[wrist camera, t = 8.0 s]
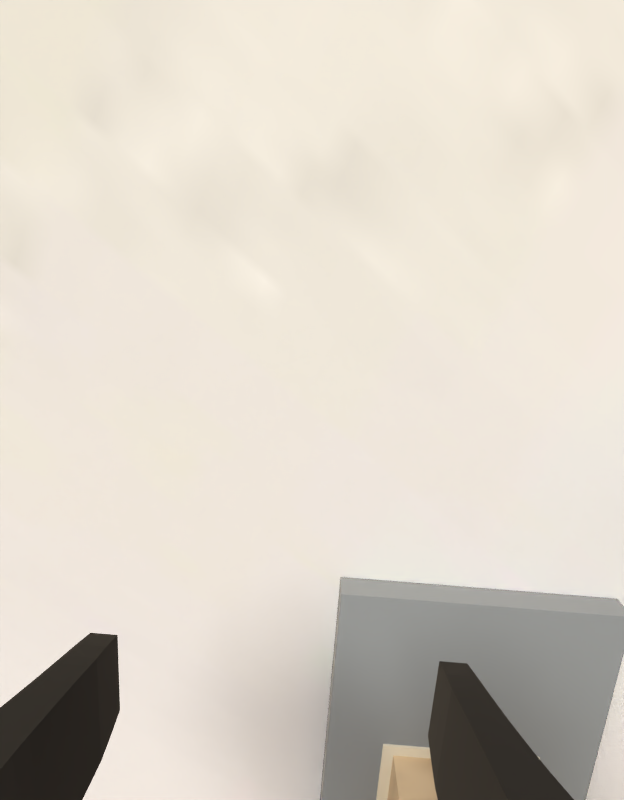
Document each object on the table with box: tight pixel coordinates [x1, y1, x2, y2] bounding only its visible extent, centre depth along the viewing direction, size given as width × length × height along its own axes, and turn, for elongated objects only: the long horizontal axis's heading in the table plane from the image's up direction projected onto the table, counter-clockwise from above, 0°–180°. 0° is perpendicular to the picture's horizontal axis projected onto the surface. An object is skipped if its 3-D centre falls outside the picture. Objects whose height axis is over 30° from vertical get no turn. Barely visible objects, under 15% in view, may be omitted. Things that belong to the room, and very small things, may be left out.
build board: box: [320, 577, 624, 800], centre depth 24 cm, size 12×16×1 cm
